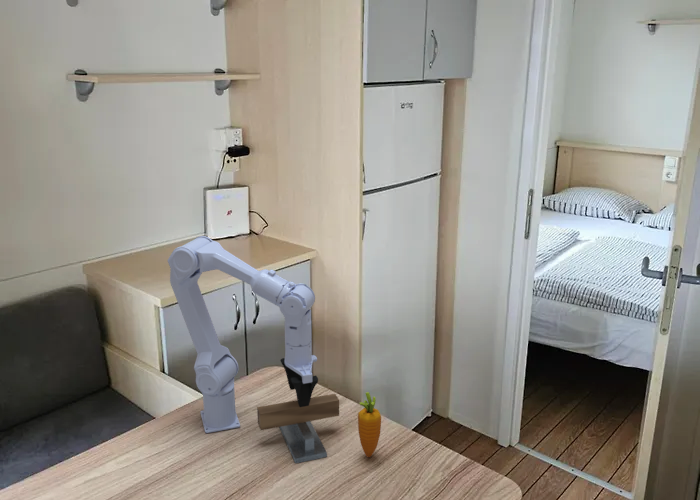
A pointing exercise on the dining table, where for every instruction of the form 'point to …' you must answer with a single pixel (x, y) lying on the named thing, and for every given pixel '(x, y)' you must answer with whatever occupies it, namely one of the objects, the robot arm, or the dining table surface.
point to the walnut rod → (297, 412)
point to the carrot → (369, 425)
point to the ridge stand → (303, 442)
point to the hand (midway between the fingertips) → (299, 396)
